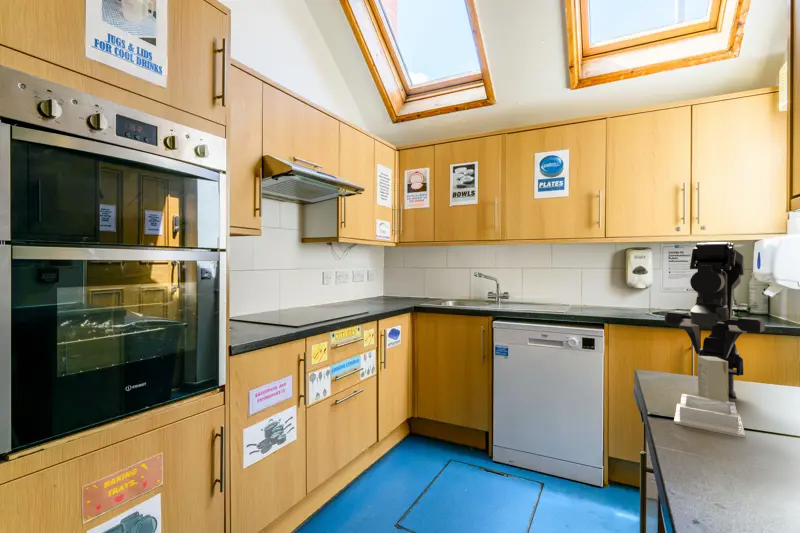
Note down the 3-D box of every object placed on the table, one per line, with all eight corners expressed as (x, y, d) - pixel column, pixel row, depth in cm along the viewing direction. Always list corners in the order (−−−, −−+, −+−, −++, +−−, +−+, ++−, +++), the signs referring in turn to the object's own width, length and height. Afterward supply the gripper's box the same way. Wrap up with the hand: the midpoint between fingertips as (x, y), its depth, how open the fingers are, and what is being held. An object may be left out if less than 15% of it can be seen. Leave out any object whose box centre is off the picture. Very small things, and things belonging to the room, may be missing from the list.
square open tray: (677, 405, 98) (677, 391, 98) (739, 417, 91) (739, 401, 91) (674, 423, 87) (674, 407, 87) (745, 438, 80) (745, 420, 80)
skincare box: (729, 412, 94) (729, 361, 94) (708, 410, 96) (708, 360, 95) (716, 403, 100) (717, 356, 100) (696, 401, 102) (697, 354, 102)
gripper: (657, 291, 99) (656, 353, 99) (755, 296, 84) (754, 368, 84) (672, 290, 106) (671, 348, 106) (765, 294, 91) (765, 361, 91)
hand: (711, 355), depth 96 cm, fingers open, 5 cm apart
